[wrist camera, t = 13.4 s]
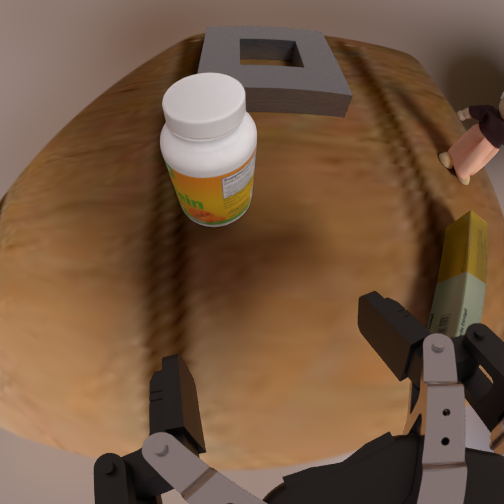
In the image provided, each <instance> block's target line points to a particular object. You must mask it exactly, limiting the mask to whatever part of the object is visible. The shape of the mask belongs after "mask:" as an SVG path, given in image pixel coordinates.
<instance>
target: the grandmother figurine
mask: <svg viewBox="0 0 504 504" xmlns="http://www.w3.org/2000/svg"><path fill="white" fill-rule="evenodd" d="M457 117H458V118H459V119H460V120H462V121H463V120H465V119H466V118H468V119H469V118H475V119H477V120H479V121H480V122H479V123H478V124H476V125H474V126H473V127H471V128H470V129H469V130H468V131H467V132H466V133H465V134H464V135H463V136H462V137H460V138H459V139H458V140H457V141H456V142H455V144H454V145H453V146H452V147H451V148H450V149H449V150H448V152H444V153H441V154H440V155H439V159H440V161H441V162H442V164H443V165H444V166H445V167H447V168H449V169H451V168H452V167H453V166H454V169H455V171H456V176H457V178H458V179H459V180H460V181H461V182H462V183H463V184H464V185H467V184H468V183H469V180H470V175H474V174H475V173H476V172H477V171H479V170H480V169H481V168H482V167H483V166H485V165H486V164H487V163H488V162H489V160H490V159H491V158H492V157H493V156H494V155H495V154H496V153H497V152H498V150H499V148H500V146H501V145H502V144H503V145H504V92H503V94H502V96H501V102H500V104H499V110H497V109H496V108H494V107H493V106H490V105H476V106H470V107H469V108H466V109H464V110H463V111H458V112H457Z"/></svg>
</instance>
